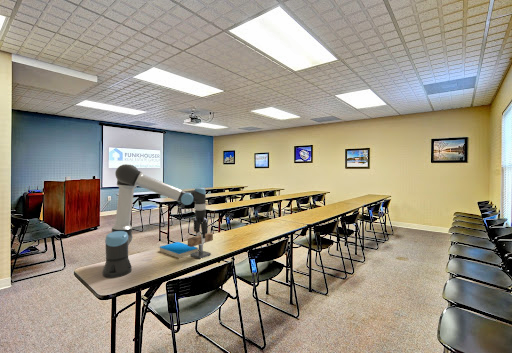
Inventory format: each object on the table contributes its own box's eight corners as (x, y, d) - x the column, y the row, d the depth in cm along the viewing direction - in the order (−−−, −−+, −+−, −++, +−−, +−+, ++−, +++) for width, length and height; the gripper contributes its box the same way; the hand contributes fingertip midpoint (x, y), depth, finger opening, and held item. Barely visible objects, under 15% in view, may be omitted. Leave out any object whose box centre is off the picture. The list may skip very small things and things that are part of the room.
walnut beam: (191, 247, 169) (191, 239, 169) (187, 246, 171) (187, 238, 171) (212, 240, 185) (212, 233, 185) (209, 239, 188) (209, 232, 187)
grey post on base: (200, 259, 172) (200, 245, 171) (190, 256, 177) (190, 243, 177) (210, 254, 180) (210, 242, 179) (201, 252, 185) (201, 240, 185)
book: (179, 253, 173) (158, 246, 188) (179, 259, 173) (159, 252, 188) (198, 247, 186) (178, 241, 201) (198, 253, 186) (178, 246, 201)
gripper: (212, 209, 176) (213, 242, 176) (196, 207, 186) (196, 239, 186) (204, 211, 170) (205, 245, 170) (188, 209, 180) (188, 241, 180)
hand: (200, 242), depth 178 cm, fingers closed on walnut beam, 4 cm apart
